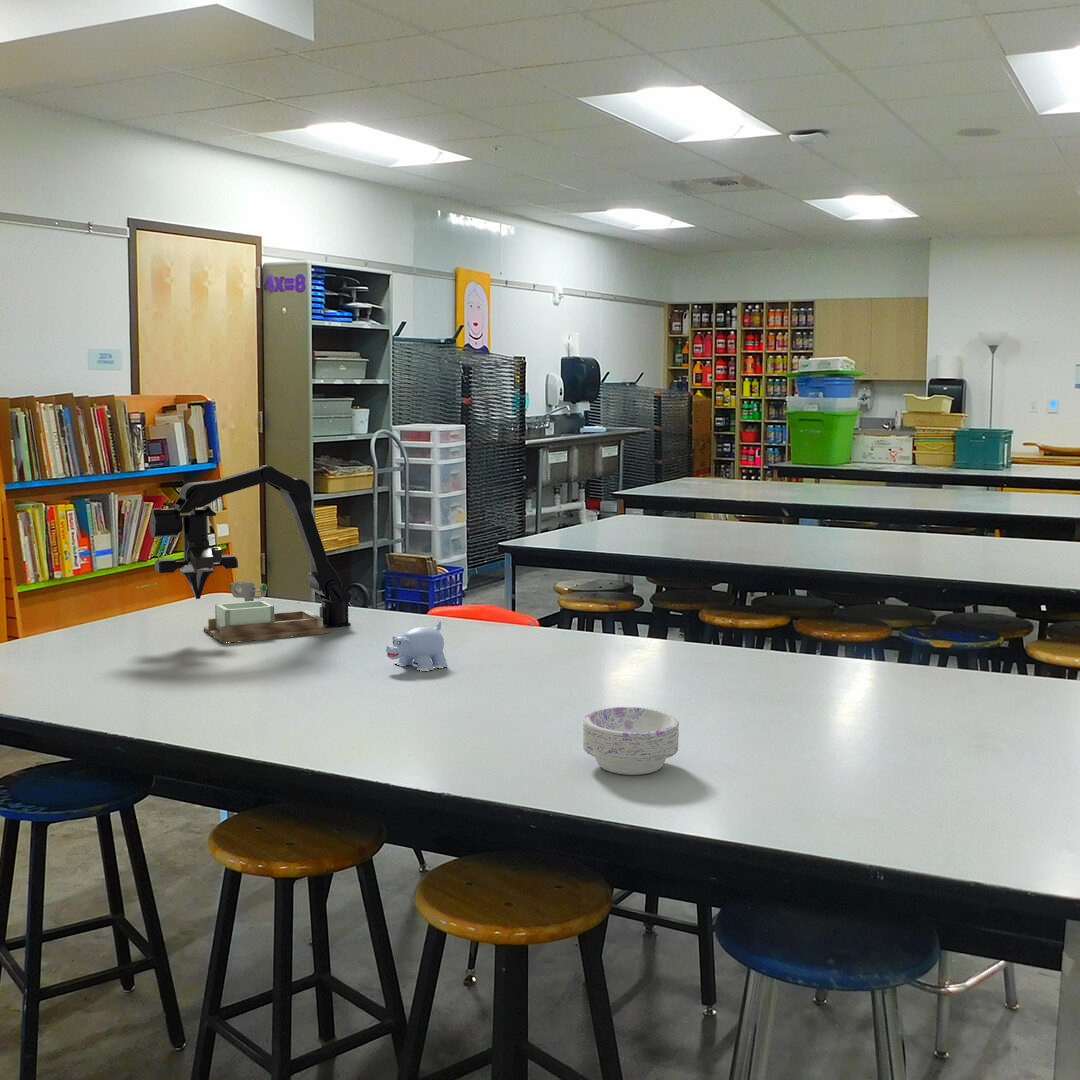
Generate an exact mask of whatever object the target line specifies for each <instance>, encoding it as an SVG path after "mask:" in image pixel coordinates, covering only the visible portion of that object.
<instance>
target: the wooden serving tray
mask: <svg viewBox="0 0 1080 1080" xmlns="http://www.w3.org/2000/svg"><path fill="white" fill-rule="evenodd" d="M274 620H275V622H267V623H256V624H244V625H233V626H222V627H220V630H218V629H217V628H216V617H213V618H208V619H207V622H208V623H207V626H203V631H204V630H205V631H206V632H208V633H209V634H211V635H212V636H213V637H215V638H216V639H218V640H219V641H220V643H221V642H222V643H225V644H229V643H228V642H236V643H239V642H238V641H246V642H250V641H249V640H257V641H262V640H261V639H267V640H271V639H270V638H277V639H283V638H282V637H288V638H292V637H291V636H298V637H302V636H301V635H309V636H314V635H313V634H319V635H324V634H323V633H330V634H331V629H330V628H329V627H326V626H324V625H323V618H321V617H320V615H317V614H315V613H313V612H311V611H309V610H306V609H305V610H296V611H295V610H294V611H283V612H282V611H281V612H274ZM205 631H204V632H205ZM206 632H205V633H206ZM208 633H207V634H208ZM209 634H208V635H209ZM211 635H210V636H211ZM212 636H211V637H212ZM215 638H214V639H215ZM216 639H215V640H216ZM218 640H217V641H218ZM219 641H218V642H219ZM226 642H227V643H226ZM222 643H221V644H222Z"/></svg>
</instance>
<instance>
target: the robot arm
mask: <svg viewBox="0 0 1080 1080" xmlns="http://www.w3.org/2000/svg"><path fill="white" fill-rule="evenodd" d="M264 483H266V484H267V485H269V486H270V487H272V488H273V489H275V490H276V491H279V493H280V496H281V497H282V499H283V501H284V503H285V504H286V506H287V508H288V509H290V511H291V512H292V514H293V516H294V519H295V521H296V525H297V527H298V530H299V533H300V535H301V539H302V542H303V544H304V548H305V551H306V555H307V556H308V559H309V563H310V566H311V567H310V572H308V573H305V574H306V577H307V580H308V581H309V588H311V589H313V590H314V592H315V593H316V594H318V596H319V599H320V600H321V606H320V607H319V617H321V618H323V626H324V627H326V628H331V627H334V628H335V627H342V626H343V627H344V626H351V625H352V623H351V622H349V604H350V601H351V597H352V594H351V593H350V592H349V591H348V590H347V589H346V588H344V587H343V582H342V580H341V578H340V576H339V574H338V572H337V571H336V570H335V568H334V567H333V566H332V564H331V562H330V561H329V559H328V556H327V554H326V551H325V550H326V549H325V547H324V544H323V540H322V538H321V534H320V532H319V530H318V525H317V523H316V521H315V517H314V515H313V511H312V502H313V498H312V492H311V486H310V484H309V483H308V482H307V481H306V480H305V479H302V478H295V477H291V476H290V475H287V474H285V473H283V472H281V471H279V470H277V469H275V468H274V467H273V466H271V465H267V464H266V465H263V464H262V465H261V466H258V467H256V468H253V469H249V470H246V471H243V472H238V473H235V474H232V475H229V476H226V477H222V478H219V479H216V480H203V481H196V482H195V481H194V482H187V483H186V484H184V485H182V487H181V488H180V490H179V491H180V492H179V497H178V498H177V500H176V501H175V503H174V504H173V505H172V506H171V508H152V509H151V515H150V518H149V519H150V521H148V522H149V524H148V525H149V533H150V536H151V537H152V538H167V537H168V538H169V537H170V538H171V537H177V536H178V535H179V533H180V534H181V533H182V532H183V538H182V540H183V541H182V542H183V560H175V559H174V558H172V557H168V558H156V560H154V561H155V562H154V571H156V572H158V573H159V574H165V573H166V574H168V573H169V574H170V573H174V572H175V571H176V570H177V569H179V571H178V572H179V573H180V574H182V575H184V576H185V578H186V580H187V581H188V583H189V585H190V587H191V591H192V594H193V595H194V598H195V599H196V600H199V599H201V596H202V593H203V590H204V587H205V584H206V581H207V579H208V578H209V576H210V575H211V574H214V573H215V570H214V569H213V568H214V567H223V568H224V569H226V570H227V569H238V568H239V561H238V558H237V557H236V556H235V555H232V554H222V547H220V546H216V547H215V546H214V547H212V548H211V546H210V539H209V530H208V529H209V526H208V525H209V523H208V521H209V520H208V517H215V516H217V513H216V512H215V511H214V510H213V509H212V508H211V507H210V506H209V504H212V503H213V502H215V501H216V500H218V499H220V498H222V497H223V496H225V495H228V494H232V493H235V492H239V491H241V490H242V491H243V490H245V489H248V488H252V487H255V486H258V485H261V484H264ZM200 508H201V509H200ZM195 570H196V571H195Z"/></svg>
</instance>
